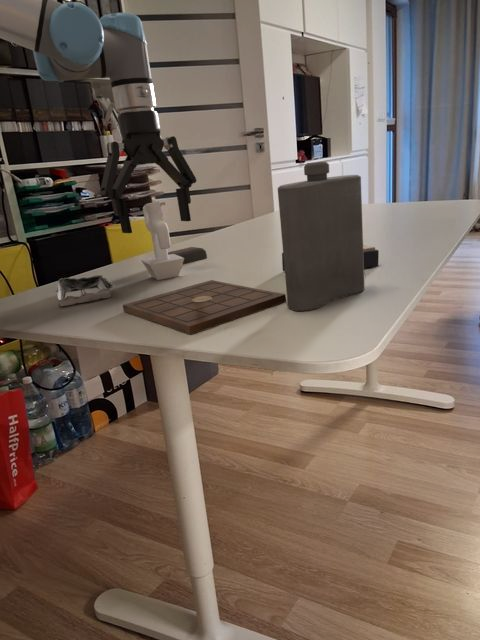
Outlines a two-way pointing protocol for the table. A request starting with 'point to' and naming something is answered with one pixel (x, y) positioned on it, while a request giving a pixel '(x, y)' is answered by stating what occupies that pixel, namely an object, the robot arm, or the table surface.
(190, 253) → the usb drive
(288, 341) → the table surface
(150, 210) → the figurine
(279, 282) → the table surface
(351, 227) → the flask
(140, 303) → the board
